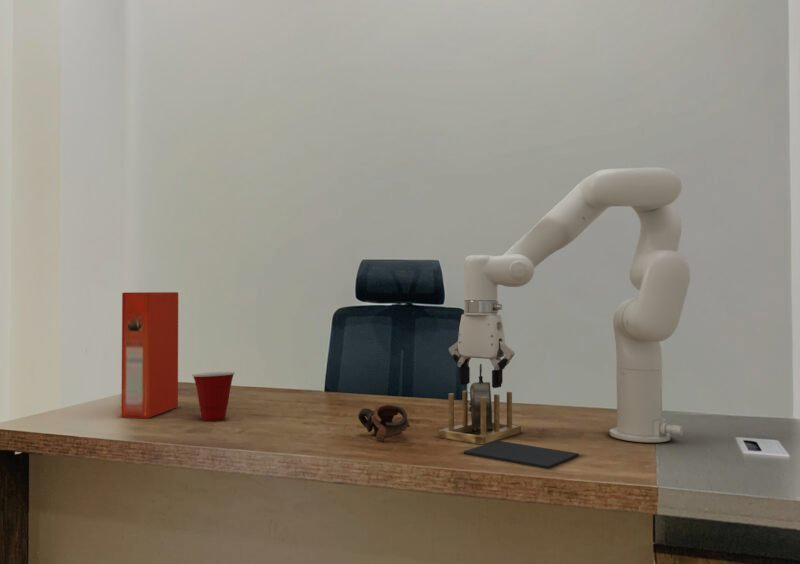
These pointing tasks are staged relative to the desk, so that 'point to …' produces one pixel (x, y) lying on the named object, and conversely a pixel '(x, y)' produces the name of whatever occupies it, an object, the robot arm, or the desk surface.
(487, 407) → the alarm clock
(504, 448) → the desk mat
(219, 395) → the plastic cup
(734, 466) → the desk surface
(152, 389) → the file binder
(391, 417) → the pottery mug
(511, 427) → the dowel rack
